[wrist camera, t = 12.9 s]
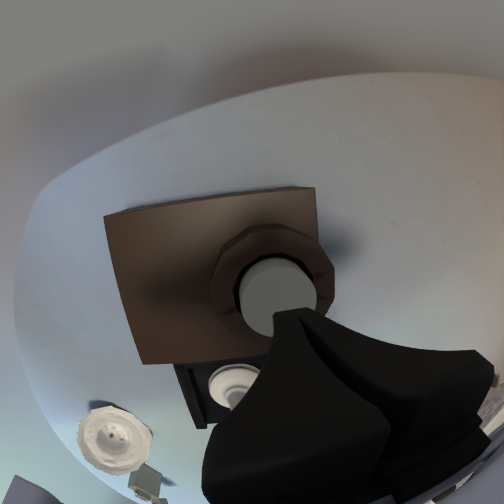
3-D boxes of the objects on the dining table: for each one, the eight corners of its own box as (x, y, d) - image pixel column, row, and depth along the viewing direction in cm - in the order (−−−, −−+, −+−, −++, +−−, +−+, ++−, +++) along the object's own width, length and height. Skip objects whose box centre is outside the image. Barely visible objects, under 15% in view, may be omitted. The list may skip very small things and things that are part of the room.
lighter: (132, 462, 25) (122, 508, 17) (140, 461, 25) (130, 508, 17) (169, 484, 27) (165, 526, 19) (177, 482, 27) (174, 526, 19)
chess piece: (276, 372, 21) (303, 469, 12) (251, 409, 22) (264, 499, 12) (221, 355, 20) (222, 460, 11) (200, 394, 21) (194, 491, 12)
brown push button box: (307, 315, 21) (333, 358, 15) (155, 334, 20) (136, 381, 14) (299, 186, 19) (331, 187, 13) (127, 209, 18) (88, 220, 12)
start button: (308, 315, 15) (317, 330, 13) (243, 325, 14) (245, 342, 13) (305, 252, 14) (316, 262, 12) (235, 262, 14) (236, 273, 12)
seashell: (116, 400, 26) (60, 413, 19) (137, 398, 24) (73, 415, 17) (140, 456, 24) (88, 476, 17) (164, 461, 22) (107, 487, 15)
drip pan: (295, 407, 24) (300, 423, 21) (195, 418, 23) (193, 435, 21) (292, 323, 21) (299, 338, 19) (168, 338, 20) (163, 354, 18)
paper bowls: (504, 379, 30) (525, 398, 23) (458, 436, 33) (475, 458, 25) (485, 368, 27) (513, 393, 20) (427, 438, 30) (447, 467, 22)
